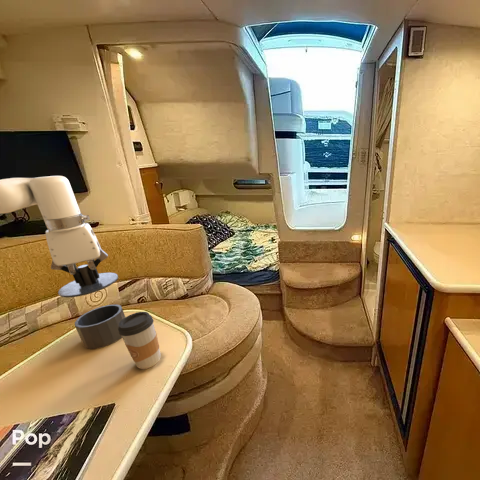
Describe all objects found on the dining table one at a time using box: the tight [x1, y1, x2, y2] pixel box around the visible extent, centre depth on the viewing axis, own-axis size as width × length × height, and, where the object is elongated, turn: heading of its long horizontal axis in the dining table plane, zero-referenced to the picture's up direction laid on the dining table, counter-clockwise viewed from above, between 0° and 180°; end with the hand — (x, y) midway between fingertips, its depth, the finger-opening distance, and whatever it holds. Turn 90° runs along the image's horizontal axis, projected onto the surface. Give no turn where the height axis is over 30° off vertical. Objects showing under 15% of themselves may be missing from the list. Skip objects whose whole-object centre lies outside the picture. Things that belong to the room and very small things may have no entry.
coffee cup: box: [118, 311, 162, 370], centre depth 77 cm, size 8×8×15 cm
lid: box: [57, 264, 119, 299], centre depth 78 cm, size 14×14×7 cm
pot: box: [74, 303, 126, 350], centre depth 91 cm, size 13×13×8 cm
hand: (89, 282), depth 79 cm, fingers closed on lid, 2 cm apart
